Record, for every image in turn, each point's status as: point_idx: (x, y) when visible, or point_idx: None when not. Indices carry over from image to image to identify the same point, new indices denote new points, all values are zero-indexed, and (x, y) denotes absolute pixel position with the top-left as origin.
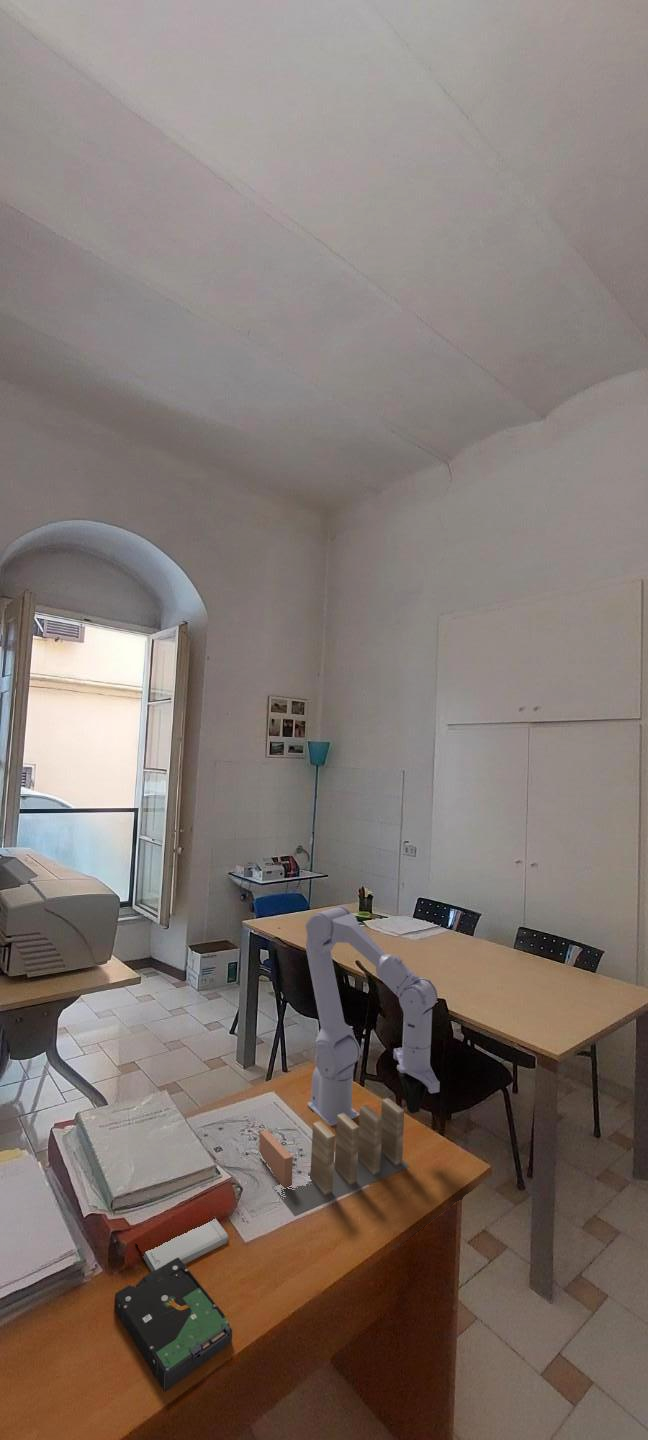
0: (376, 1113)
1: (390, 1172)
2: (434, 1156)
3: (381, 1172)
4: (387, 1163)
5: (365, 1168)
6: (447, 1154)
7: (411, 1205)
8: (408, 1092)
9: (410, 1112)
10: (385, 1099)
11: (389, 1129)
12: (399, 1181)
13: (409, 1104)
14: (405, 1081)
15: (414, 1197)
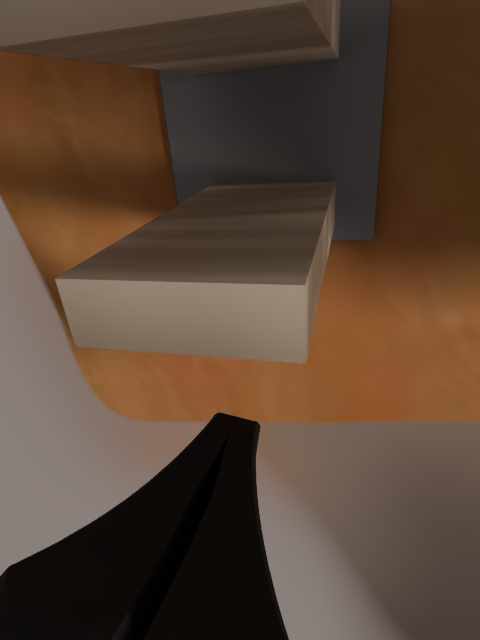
0: (81, 30)
1: (179, 130)
2: (211, 366)
3: (193, 82)
4: (238, 158)
5: None
6: (203, 407)
7: (2, 96)
8: (154, 518)
9: (221, 414)
10: (294, 323)
11: (225, 221)
12: (134, 142)
13: (198, 445)
14: (64, 619)
15: (39, 140)
